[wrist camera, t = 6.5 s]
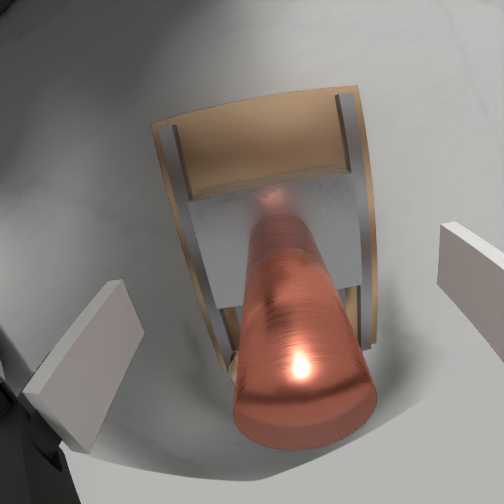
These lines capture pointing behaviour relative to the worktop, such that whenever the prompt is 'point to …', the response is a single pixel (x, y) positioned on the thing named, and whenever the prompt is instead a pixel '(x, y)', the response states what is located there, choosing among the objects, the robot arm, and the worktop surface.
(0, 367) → the serving bowl
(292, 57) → the worktop surface
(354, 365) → the copper peg on base
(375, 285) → the railed wooden base plate
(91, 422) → the robot arm
